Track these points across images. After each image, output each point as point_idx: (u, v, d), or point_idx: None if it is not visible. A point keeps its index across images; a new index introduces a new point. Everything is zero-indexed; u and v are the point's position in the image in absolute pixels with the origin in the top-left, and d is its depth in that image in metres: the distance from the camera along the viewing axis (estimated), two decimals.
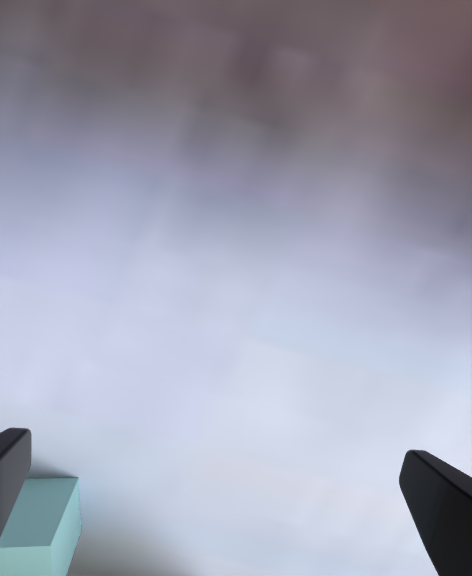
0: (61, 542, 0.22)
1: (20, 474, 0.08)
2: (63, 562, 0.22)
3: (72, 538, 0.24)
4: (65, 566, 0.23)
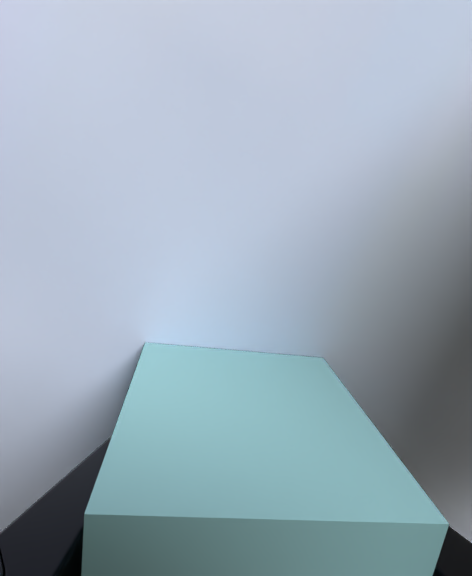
0: (213, 436, 0.06)
1: None
2: (308, 439, 0.06)
3: (290, 388, 0.08)
4: (339, 432, 0.06)
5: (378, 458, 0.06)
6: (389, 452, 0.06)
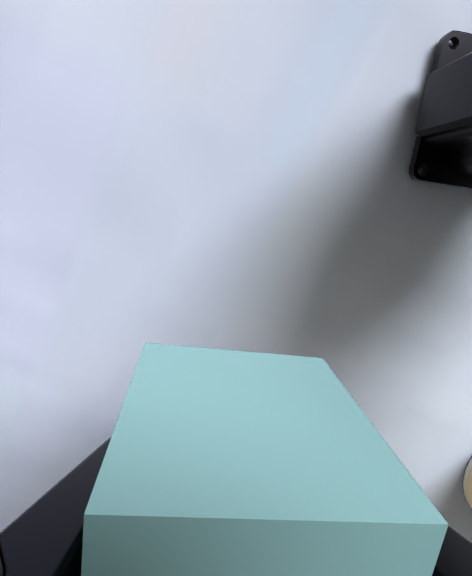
0: (212, 436, 0.06)
1: None
2: (308, 439, 0.06)
3: (290, 388, 0.08)
4: (338, 432, 0.06)
5: (378, 458, 0.06)
6: (388, 451, 0.06)
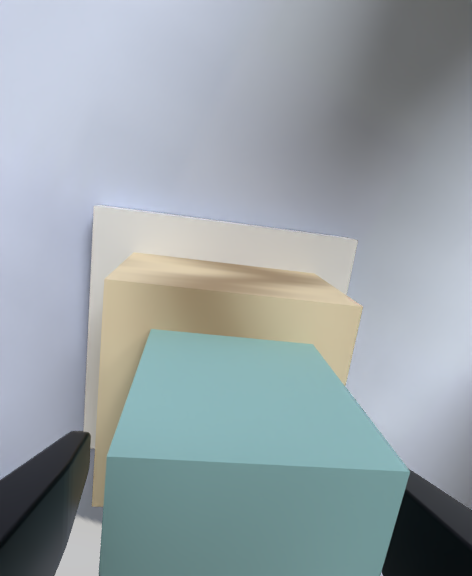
0: (212, 403, 0.07)
1: (82, 477, 0.08)
2: (295, 408, 0.07)
3: (281, 368, 0.09)
4: (322, 403, 0.07)
5: (355, 423, 0.07)
6: (365, 418, 0.07)
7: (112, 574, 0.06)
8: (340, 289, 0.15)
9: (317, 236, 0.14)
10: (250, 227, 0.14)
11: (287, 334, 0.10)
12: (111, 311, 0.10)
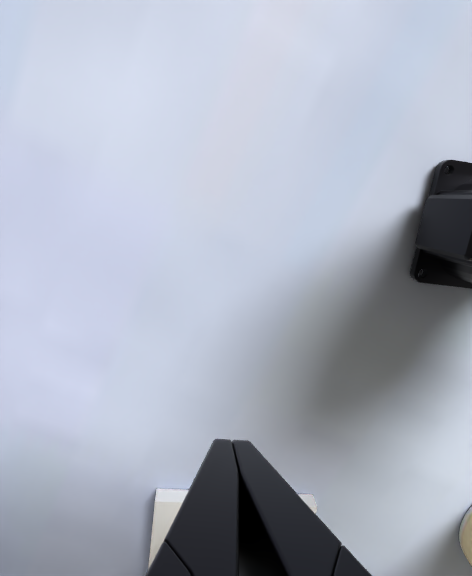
0: None
1: None
2: None
3: None
4: None
5: None
6: None
7: None
8: None
9: None
10: None
11: None
12: None
